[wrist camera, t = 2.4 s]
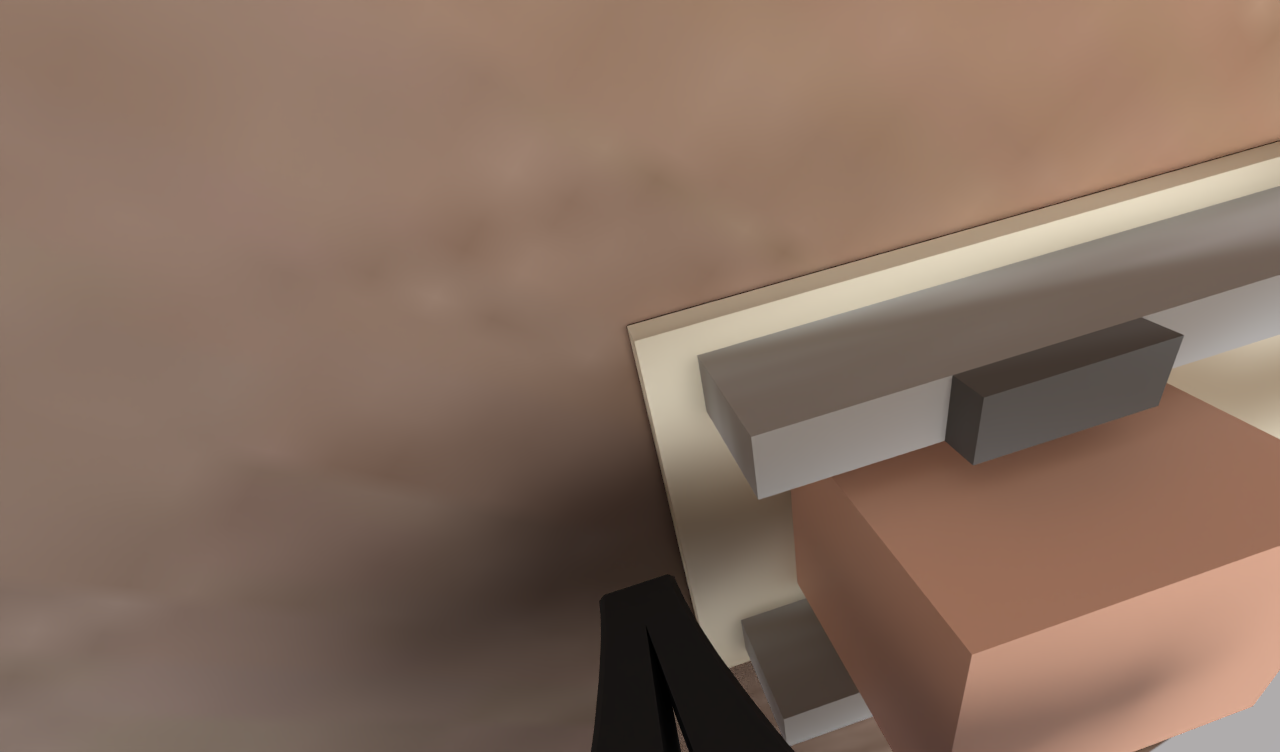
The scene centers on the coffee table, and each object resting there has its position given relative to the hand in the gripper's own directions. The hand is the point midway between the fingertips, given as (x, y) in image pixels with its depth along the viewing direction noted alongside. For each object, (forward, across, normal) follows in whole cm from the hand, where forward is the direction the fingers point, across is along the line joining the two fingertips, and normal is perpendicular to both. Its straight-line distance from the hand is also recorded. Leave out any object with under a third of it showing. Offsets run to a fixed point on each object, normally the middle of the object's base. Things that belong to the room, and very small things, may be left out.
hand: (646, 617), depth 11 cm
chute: (+2, -12, 0) cm, 12 cm away
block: (+2, -7, 0) cm, 7 cm away
